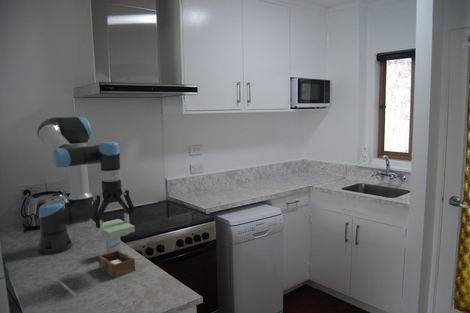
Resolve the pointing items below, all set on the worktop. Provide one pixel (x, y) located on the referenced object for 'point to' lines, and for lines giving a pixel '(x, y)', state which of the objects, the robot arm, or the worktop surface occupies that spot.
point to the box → (117, 269)
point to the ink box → (113, 244)
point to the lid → (116, 228)
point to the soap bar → (116, 261)
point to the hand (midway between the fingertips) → (114, 231)
